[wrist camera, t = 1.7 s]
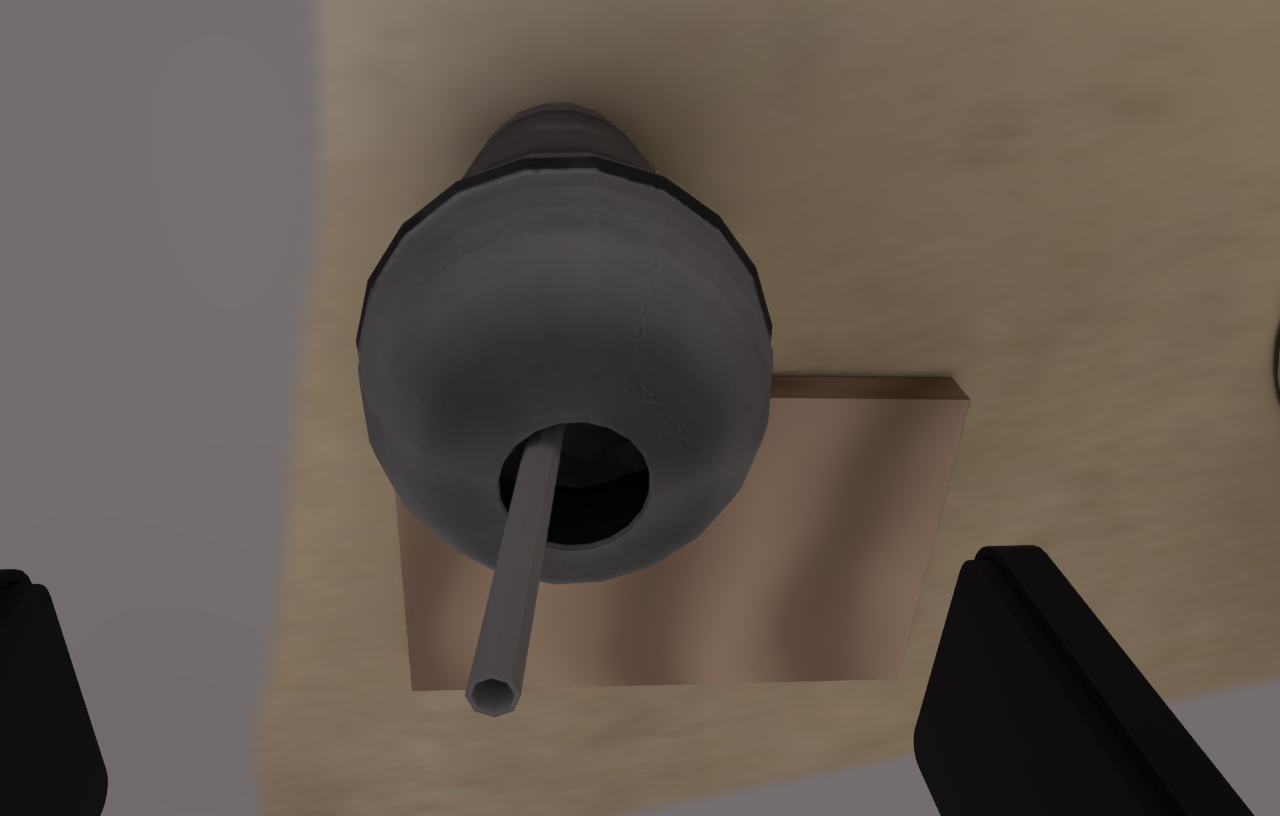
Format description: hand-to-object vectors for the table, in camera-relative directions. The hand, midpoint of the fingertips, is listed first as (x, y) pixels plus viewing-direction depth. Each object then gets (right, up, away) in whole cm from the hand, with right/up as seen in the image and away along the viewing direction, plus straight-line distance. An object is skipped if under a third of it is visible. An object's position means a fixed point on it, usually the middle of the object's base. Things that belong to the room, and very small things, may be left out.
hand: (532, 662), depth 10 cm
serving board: (+2, -2, +23) cm, 23 cm away
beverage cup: (-1, +9, +17) cm, 19 cm away
